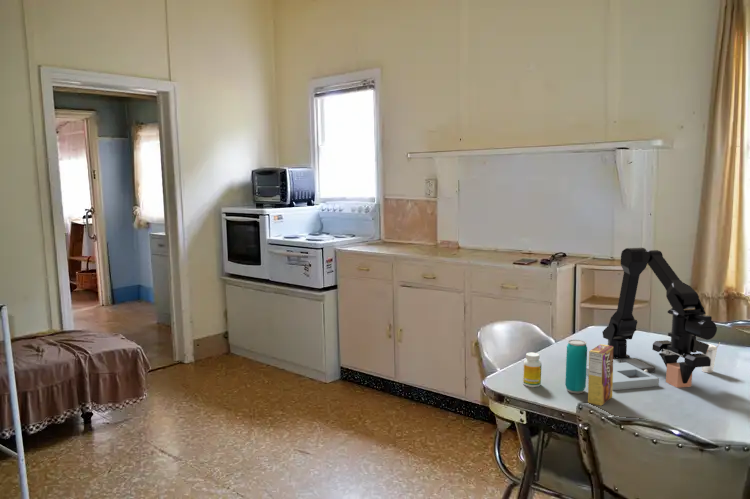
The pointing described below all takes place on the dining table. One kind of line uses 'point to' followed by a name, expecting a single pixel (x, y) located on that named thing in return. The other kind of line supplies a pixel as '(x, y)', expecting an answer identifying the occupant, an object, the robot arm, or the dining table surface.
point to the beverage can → (576, 366)
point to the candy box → (600, 374)
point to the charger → (676, 376)
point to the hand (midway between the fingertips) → (678, 380)
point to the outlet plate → (630, 377)
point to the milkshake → (711, 354)
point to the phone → (639, 364)
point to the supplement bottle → (532, 370)
